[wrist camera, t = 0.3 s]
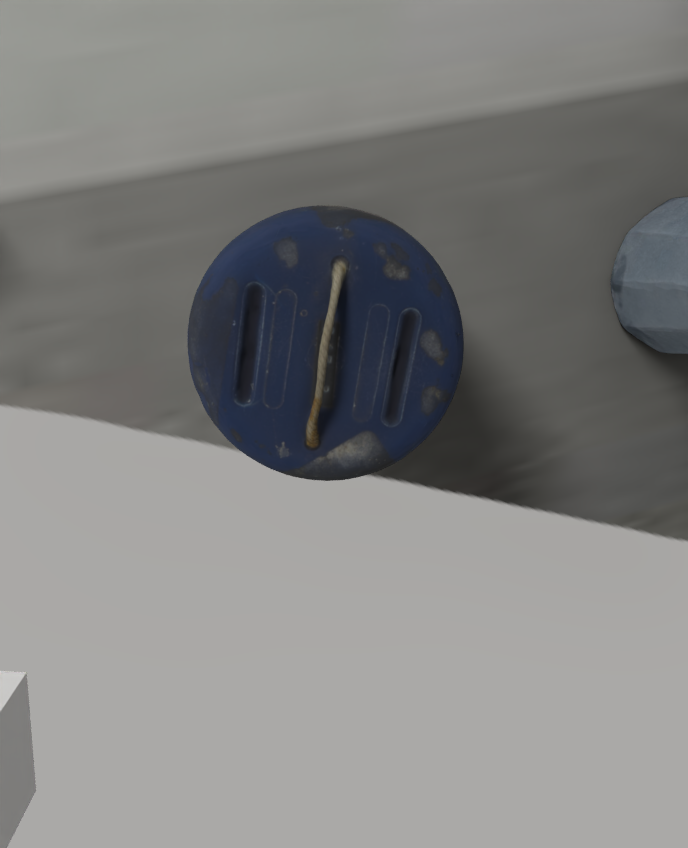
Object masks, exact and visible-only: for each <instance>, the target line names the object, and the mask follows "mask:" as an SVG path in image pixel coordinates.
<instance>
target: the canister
mask: <svg viewBox="0 0 688 848" xmlns="http://www.w3.org/2000/svg"><path fill="white" fill-rule="evenodd" d="M463 347H464V345H463V328H462V321H461V315H460V311H459V307H458V304H457V301H456V298H455V295H454V292H453V290H452V288H451V286H450V284H449V282H448V280H447V279H446V277H445V275H444V273H443V271H442V269H441V268H440V266H439V265H438V264H437V262H436V261H435V259H434V258H433V257H432V256H431V254H430V253H429V252H428V251H427V250H426V249H425V248H424V247H423V246H422V245H421V244H420V243H419V242H418V241H417V240H416V239H414V238H413V237H412V236H411V235H410V234H408V233H407V232H406V231H404V230H403V229H402V228H400V227H399V226H397V225H396V224H394V223H392V222H390V221H388V220H386V219H384V218H382V217H380V216H378V215H375V214H372V213H368V212H365V211H361V210H357V209H352V208H347V207H340V206H309V207H301V208H296V209H292V210H288V211H284V212H281V213H278V214H276V215H273V216H271V217H269V218H267V219H264V220H262V221H260V222H258V223H257V224H255V225H253V226H252V227H250V228H249V229H247V230H246V231H244V232H243V233H241V234H240V235H239V236H237V237H236V238H235V239H234V240H232V241H231V242H230V243H229V244H228V245H227V246H226V247H225V248H224V249H223V250H222V251H221V252H220V254H219V255H218V256H217V257H216V259H215V260H214V261H213V263H212V264H211V265H210V267H209V268H208V270H207V271H206V273H205V275H204V277H203V279H202V281H201V283H200V285H199V287H198V289H197V292H196V295H195V297H194V301H193V305H192V308H191V313H190V318H189V325H188V355H189V364H190V370H191V375H192V379H193V382H194V385H195V387H196V390H197V392H198V394H199V396H200V398H201V401H202V404H203V406H204V408H205V410H206V412H207V413H208V415H209V417H210V418H211V420H212V421H213V423H214V424H215V425H216V426H217V427H218V429H219V430H220V431H221V432H222V434H223V435H224V436H225V437H226V438H227V439H228V440H229V441H230V442H231V443H232V444H233V445H234V446H235V447H237V448H238V449H239V450H240V451H242V452H243V453H244V454H246V455H247V456H249V457H251V458H252V459H254V460H255V461H257V462H259V463H261V464H263V465H264V466H266V467H268V468H271V469H273V470H276V471H278V472H281V473H284V474H287V475H290V476H294V477H299V478H305V479H312V480H325V481H330V480H345V479H351V478H356V477H360V476H364V475H367V474H371V473H374V472H376V471H379V470H382V469H384V468H386V467H388V466H390V465H392V464H394V463H396V462H397V461H399V460H401V459H402V458H404V457H405V456H406V455H408V454H409V453H410V452H411V451H413V450H414V449H415V448H416V447H417V446H419V445H420V444H421V443H422V442H423V441H424V440H425V439H426V438H427V437H428V436H429V435H430V433H431V432H432V431H433V430H434V428H435V427H436V426H437V425H438V423H439V422H440V420H441V418H442V417H443V415H444V414H445V412H446V410H447V408H448V406H449V404H450V402H451V400H452V398H453V396H454V393H455V390H456V387H457V384H458V381H459V377H460V373H461V368H462V361H463Z"/></svg>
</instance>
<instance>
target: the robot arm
mask: <svg viewBox="0 0 688 848" xmlns="http://www.w3.org/2000/svg"><path fill="white" fill-rule="evenodd" d="M32 748H33V747H32V736H31V723H30V710H29V698H28V686H27V673H26V672H8V671H0V848H7V846H8V844H9V842H10V840H11V838H12V836H13V834H14V833H15V831H16V828H17V827H18V825H19V823H20V821H21V819H22V817H23V815H24V813H25V811H26V809H27V807H28V805H29V803H30V801H31V799H32V797H33V795H34V793H35V791H36V785H35V772H34V760H33V749H32Z"/></svg>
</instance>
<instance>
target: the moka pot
mask: <svg viewBox="0 0 688 848" xmlns="http://www.w3.org/2000/svg"><path fill="white" fill-rule="evenodd" d="M611 292H612V297H613V301H614V305H615V309H616V312H617V314H618V317H619V321H620V322H621V324H622V326H623V327H624V328H625V329H626V330H627V331H628V332H629V333H631V334H632V335H634V336H635V337H636V338H638V339H639V340H641V341H643V342H644V343H645V344H647V345H648V346H650V347H651V348H653V349H655V350H657V351H659V352H664V353H680V354H688V197H679V198H673V199H670V200H668V201H666V202H665V203H663V204H662V205H660V206H659V207H657V208H655V209H654V210H653V211H651V212H650V213H649V214H648V215H646V216H645V217H644V218H642V219H641V220H640V221H639V222H638V223H637V224H636V225H635V226H634V227H633V228H632V229H631V230H630V231H629V232H628V234H627V235H626V237H625V239H624V241H623V243H622V245H621V247H620V249H619V252H618V254H617V257H616V260H615V263H614V267H613V271H612V276H611Z"/></svg>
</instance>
